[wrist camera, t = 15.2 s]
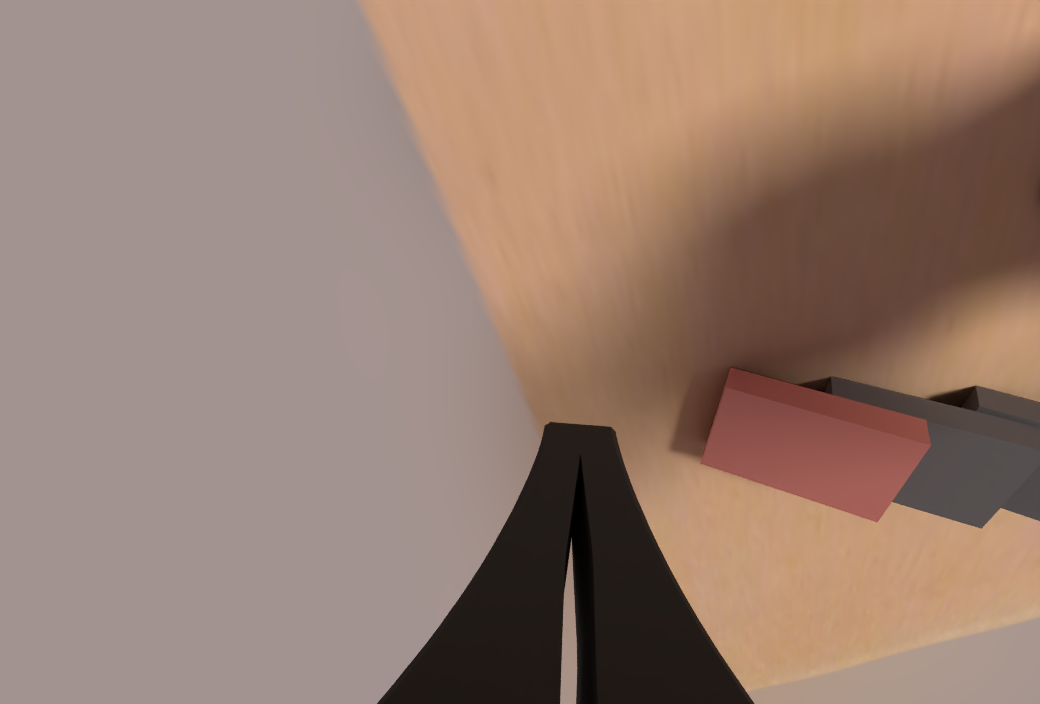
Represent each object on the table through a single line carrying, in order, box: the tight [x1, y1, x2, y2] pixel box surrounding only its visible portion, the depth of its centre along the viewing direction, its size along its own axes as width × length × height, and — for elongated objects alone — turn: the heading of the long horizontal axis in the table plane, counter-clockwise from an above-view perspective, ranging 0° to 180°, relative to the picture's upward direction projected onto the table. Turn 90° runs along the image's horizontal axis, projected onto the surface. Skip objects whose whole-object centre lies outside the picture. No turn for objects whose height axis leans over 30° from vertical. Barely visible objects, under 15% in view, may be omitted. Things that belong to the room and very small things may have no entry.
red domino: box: [701, 368, 931, 522], centre depth 22 cm, size 1×4×7 cm
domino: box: [824, 377, 1040, 529], centre depth 22 cm, size 1×4×7 cm
